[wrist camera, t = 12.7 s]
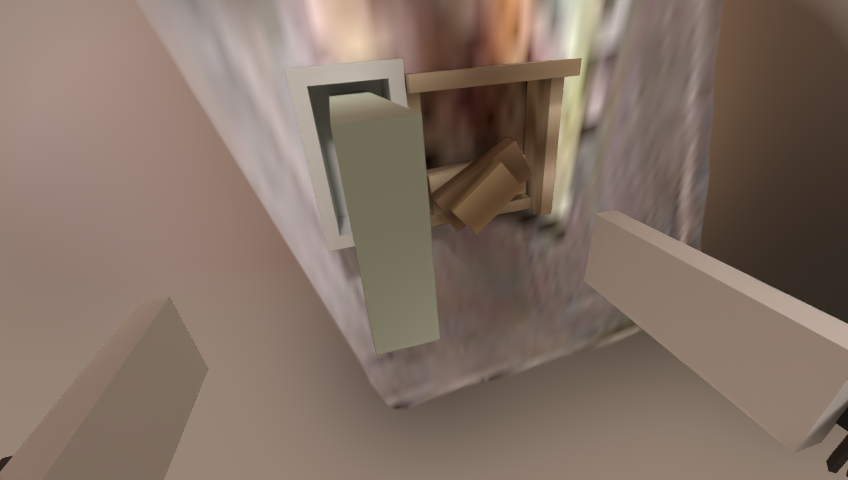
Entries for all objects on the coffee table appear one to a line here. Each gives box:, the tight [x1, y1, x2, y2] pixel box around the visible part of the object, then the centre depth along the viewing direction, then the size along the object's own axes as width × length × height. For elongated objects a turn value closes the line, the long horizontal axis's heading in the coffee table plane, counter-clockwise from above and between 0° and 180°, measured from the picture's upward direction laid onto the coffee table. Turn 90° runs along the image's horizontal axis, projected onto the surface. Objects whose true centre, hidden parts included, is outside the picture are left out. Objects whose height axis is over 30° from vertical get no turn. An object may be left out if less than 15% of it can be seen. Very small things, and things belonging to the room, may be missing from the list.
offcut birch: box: [426, 154, 526, 215], centre depth 35 cm, size 4×10×2 cm, turn 99°
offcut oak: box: [448, 159, 523, 235], centre depth 31 cm, size 4×6×2 cm, turn 135°
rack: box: [404, 58, 582, 227], centre depth 31 cm, size 14×14×6 cm
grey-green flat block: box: [329, 90, 440, 355], centre depth 22 cm, size 3×10×20 cm, turn 6°
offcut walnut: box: [430, 137, 533, 232], centre depth 32 cm, size 4×9×2 cm, turn 126°
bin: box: [285, 58, 407, 251], centre depth 29 cm, size 14×8×5 cm, turn 6°
